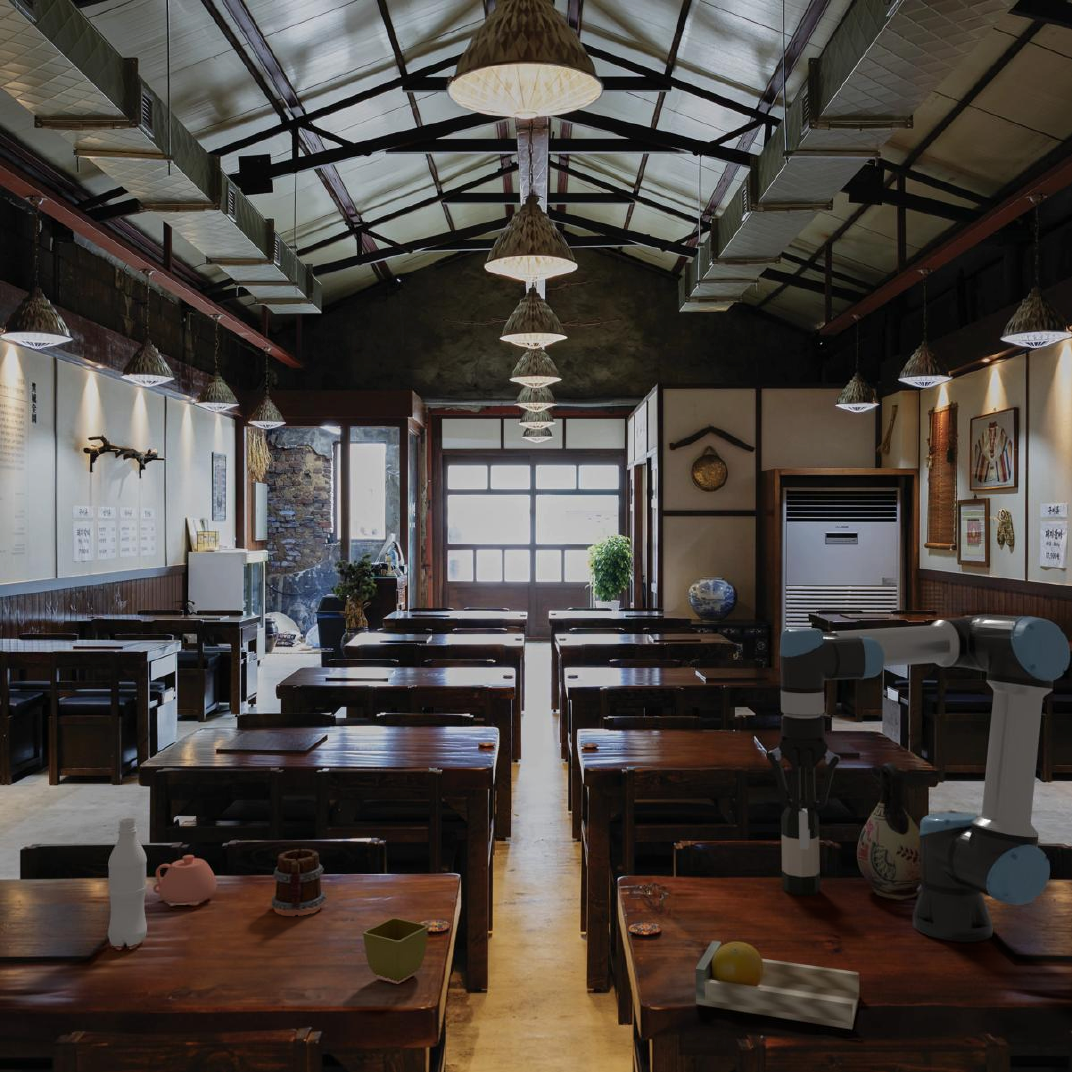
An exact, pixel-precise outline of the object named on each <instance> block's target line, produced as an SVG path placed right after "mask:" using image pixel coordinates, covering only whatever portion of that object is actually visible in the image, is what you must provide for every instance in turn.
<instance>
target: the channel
mask: <svg viewBox="0 0 1072 1072" xmlns="http://www.w3.org/2000/svg"><path fill="white" fill-rule="evenodd" d="M721 946H722V942H721V941H718V940H711V943H710V945H709V946H708V948H707V949H706V951H705V952H704V954H703V955H702V957H701V959H700V960H699V962H698V963H697V965H696V966H695V971H694V972H695V1005H700V1006H705V1007H711V1008H719V1009H724V1010H732V1011H736V1012H737V1011H738V1012H743V1013H748V1014H756V1015H761V1016H767V1017H768V1016H769V1017H775V1018H779V1019H780V1018H781V1019H786V1020H792V1021H799V1022H805V1023H811V1024H816V1025H823V1026H829V1027H836V1028H841V1029H849V1030H853V1027H854V1022H855V1017H856V1013H857V1008H858V1003H859V999H860V973H859V971H858V972H857V971H851V970H846V969H845V970H844V969H838V968H837V969H836V968H832V967H831V968H830V967H822V966H815V965H809V964H802V963H795V962H788V961H783V960H782V961H780V960H773V959H768V958H767V959H766V958H762V961H763V975H762V978H761V981H760V983H759V985H758V986H757V987H755V986H749V985H742V984H736V983H729V982H723V981H716V980H715V978H714V976H713V972H712V960H713V957H714V954H715V953H716V951H717V950H718V949H719V948H720V947H721Z"/></svg>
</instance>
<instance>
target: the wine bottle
mask: <svg viewBox="0 0 1072 1072" xmlns="http://www.w3.org/2000/svg"><path fill="white" fill-rule="evenodd" d="M801 808H802V809H807V774H806V767H801ZM780 816H781V817H780V819H781V820H780V824H781V827H780V828H781V885H782V886H781V887H782V890H783V891H785V892H786V893H788V894H790V895H792V894H793V895H797V896H814V895H817V894H818V893H819V892H820V891H821V886H820V885H821V882H820V878H821V877H820V876H821V875H820V825H819V824H820V821H819V820H820V819H819V814H817V813H816V826H815V828H814V830H810V846H809V849H808V850H807V849H799V829H797V828H794V827H793V811H792V809H791V808H789V807H787V806H786V807H785V809H784V811H783V812H782V814H781V815H780Z"/></svg>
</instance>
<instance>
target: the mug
mask: <svg viewBox="0 0 1072 1072" xmlns="http://www.w3.org/2000/svg"><path fill="white" fill-rule="evenodd" d="M319 856H320V855H319V853H318V851H315V850H313V849H307V848H303V849H302V848H301V849H300V850H299V849H292V850H288V851H283V852H282V853H280V854H279V855H278V856H277V866H276V867H275V868H274V872H273V878H274V879H275V880H276V884H275V894H273V896H272V898H271V902H270V905H271V907H272V906H273V907H274V908H278V909H282V910H301V909H306V908H313V907H315V906H318V905H319V904H321V903H322V902H323V901H324V899H325V900H327V895H325V892H324V891H323V890H322V886H321V884H322V883H321V877H322V875H323V873H324V872H325V871H324V869H325V868H324V867H323V865H322V864H321V863H320V857H319ZM273 907H272V908H273ZM274 908H273V909H274Z"/></svg>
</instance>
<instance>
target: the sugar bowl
mask: <svg viewBox="0 0 1072 1072" xmlns="http://www.w3.org/2000/svg"><path fill="white" fill-rule="evenodd" d="M163 868H166V869H167V870H166V872H165V873H164V876H163V877H161V870H162V869H163ZM155 877H156V881H157V883H155V884H154V885H153V888H152V889H153V892H154V893H156V894H159V897H160V899H161V901H163V900H164V901H166V902H169V903H188V902H195V901H199V900H203V899H207V898H209V897H211V896H212V895H215V893H216V892H217V889H218V885H217V884H218V882H217V879H216V876H215V874H214V871H213V870H212V868H211V867H210V865H209V863H208V862H207V861H206V860H205V859H202V858H198V857H197V858H196V857H195V856H194V855H193V854H187V855H183V856H182V859H179V860H176V861H174V862H172V863H171V864H169V863H163V864H161V865H159V866H158V867H157V868H156V871H155ZM157 887H158V888H157ZM212 897H213V896H212ZM212 897H211V898H212ZM164 901H163V902H164Z"/></svg>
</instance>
